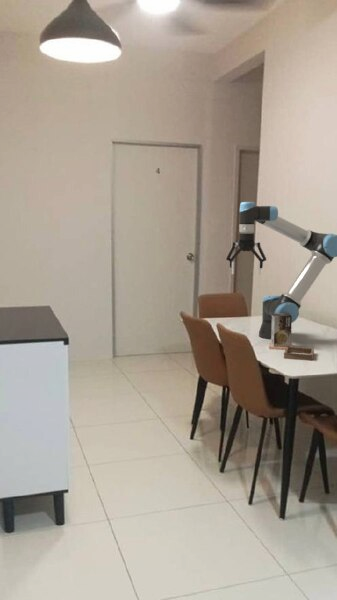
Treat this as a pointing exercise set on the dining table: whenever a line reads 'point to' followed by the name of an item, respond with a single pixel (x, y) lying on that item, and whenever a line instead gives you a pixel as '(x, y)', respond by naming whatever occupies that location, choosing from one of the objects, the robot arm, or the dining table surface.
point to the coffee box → (281, 329)
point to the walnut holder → (299, 350)
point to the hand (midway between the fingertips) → (245, 274)
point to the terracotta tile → (279, 347)
